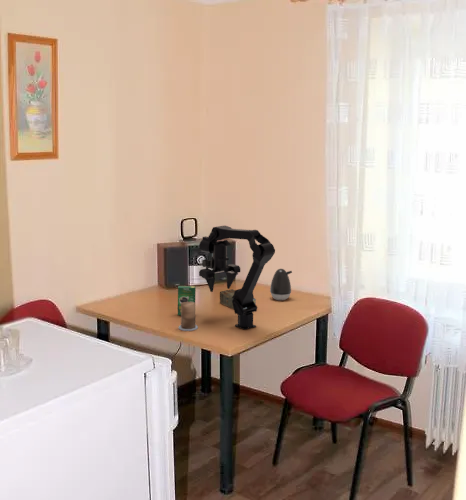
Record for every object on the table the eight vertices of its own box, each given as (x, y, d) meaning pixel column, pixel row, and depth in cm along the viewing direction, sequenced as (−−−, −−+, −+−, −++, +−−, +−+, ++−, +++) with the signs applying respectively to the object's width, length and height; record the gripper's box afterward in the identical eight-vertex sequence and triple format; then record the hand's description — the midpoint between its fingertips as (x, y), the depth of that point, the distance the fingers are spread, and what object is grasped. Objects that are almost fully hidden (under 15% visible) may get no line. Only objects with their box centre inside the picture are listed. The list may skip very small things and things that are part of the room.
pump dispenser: (290, 302, 299) (291, 271, 296) (269, 301, 301) (269, 270, 298) (292, 296, 309) (292, 266, 306) (271, 295, 310) (271, 266, 307)
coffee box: (195, 313, 280) (195, 285, 278) (195, 315, 277) (195, 287, 275) (177, 313, 280) (177, 285, 277) (177, 315, 277) (177, 287, 274)
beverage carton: (242, 313, 281) (242, 299, 280) (218, 303, 297) (218, 290, 296) (256, 310, 286) (256, 297, 284) (232, 301, 301) (232, 288, 300)
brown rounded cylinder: (198, 326, 262) (198, 303, 260) (190, 329, 256) (189, 306, 255) (186, 323, 265) (186, 300, 263) (178, 327, 260) (178, 304, 258)
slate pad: (201, 328, 260) (201, 327, 260) (185, 332, 255) (185, 331, 255) (190, 323, 266) (190, 322, 266) (174, 327, 261) (174, 326, 261)
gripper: (225, 249, 279) (225, 283, 282) (191, 254, 268) (191, 289, 271) (241, 253, 271) (241, 288, 274) (206, 259, 259) (207, 295, 262)
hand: (220, 290), depth 270 cm, fingers open, 9 cm apart
